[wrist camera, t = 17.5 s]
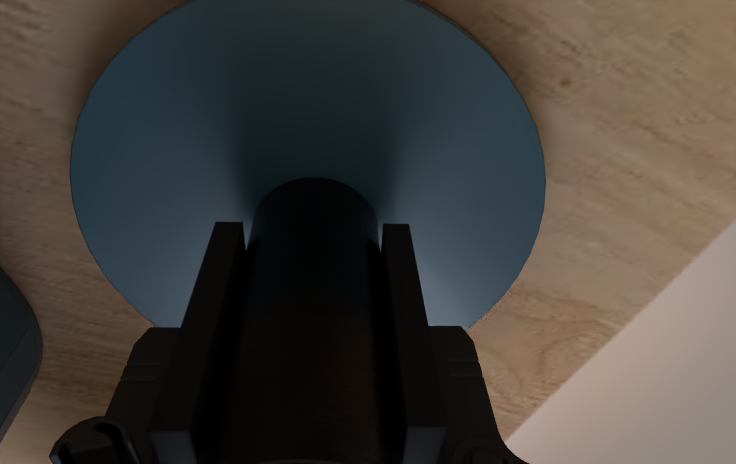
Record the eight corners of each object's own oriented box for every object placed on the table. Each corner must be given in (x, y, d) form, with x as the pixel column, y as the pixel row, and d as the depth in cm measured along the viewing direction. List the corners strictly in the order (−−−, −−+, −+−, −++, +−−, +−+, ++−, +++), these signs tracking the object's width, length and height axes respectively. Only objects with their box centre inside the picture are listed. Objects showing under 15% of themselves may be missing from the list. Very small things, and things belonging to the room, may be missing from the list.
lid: (-5, 206, 17) (-328, 539, 9) (312, -185, 11) (247, -281, 3) (319, 398, 24) (309, 684, 16) (613, 214, 18) (837, 507, 10)
